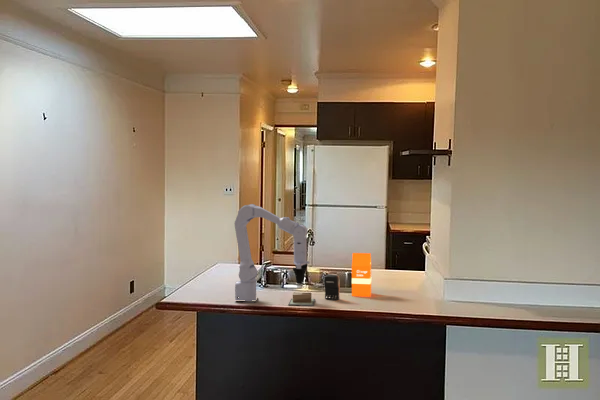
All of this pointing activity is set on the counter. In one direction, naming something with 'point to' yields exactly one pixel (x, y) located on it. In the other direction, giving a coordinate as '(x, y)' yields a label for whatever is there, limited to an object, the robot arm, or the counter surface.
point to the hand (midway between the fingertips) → (300, 282)
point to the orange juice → (361, 274)
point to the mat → (302, 303)
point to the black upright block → (332, 287)
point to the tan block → (301, 297)
